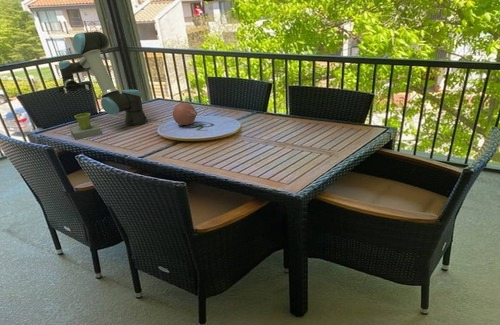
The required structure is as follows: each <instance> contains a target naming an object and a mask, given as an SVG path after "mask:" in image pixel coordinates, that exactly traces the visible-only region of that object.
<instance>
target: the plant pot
mask: <svg viewBox="0 0 500 325" xmlns="http://www.w3.org/2000/svg"><path fill="white" fill-rule="evenodd" d="M74 118H75V120H76V121H77V123H78V127H79V126H80V128H81V129H86V128H87V129H88V128H90V127H91V125H90V124H91V113H90V112H84V113H79V114H76V115H74Z"/></svg>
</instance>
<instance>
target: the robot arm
mask: <svg viewBox="0 0 500 325" xmlns="http://www.w3.org/2000/svg"><path fill="white" fill-rule="evenodd" d="M72 46H73V48H74V50H75V52H76V53H79V54H81V56H82V57H81V58H80V59H79V61H76V62H75V61H74V62H70V61H69V60H62V61H59V62H58V68H59V71H60V72H59V73H60V75H61V79H62V84H63V85H62V86H60V87H58V92H59V93H62V94H68V91H70V92H76V91H78V90H81V89H86V90H87V91H90V88H91V89H92V86H91V85H92V84H91V83H85V82H81V83H78V82H77V81H76V80H75V77H74V75H75V74H80V73H86V72H89V71H91V72H92V74H93V75H94V78H95V81H96V82H97V84H98V87H99V89H100V91H101V93H102V94H101V96H100V97H101V99H100V104H101V108H102V110H104V111H105V113H107V115H108V114H109V115H115V114H119V113H122V112H125V116H124V123H125V125H126V126H140V125H144V124H145V123H147V122H148V118H147V116H146V115H147V114H146V113H145V112H144V109H143V104H142V103H143V102H142V97H141V96H142V95H141V92H140V90H138V89H130V88H129V89H122V90H121V92H120V90H119V89H117V88H116V87H115V85H114V83H113V80H112V78H111V76H110V73H109V72H108V70H107V68H106V65H105V63H104V61H103V59H102V57H101V55H102V53H105V52H106V51H107V50H108V48H109V46H110V40H109V38H108V36H107V35H106V34H105V33H104V32H102V31H98V30H96V31H85V32H77V33H75V34H74V35H73V39H72Z"/></svg>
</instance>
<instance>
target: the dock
mask: <svg viewBox="0 0 500 325" xmlns="http://www.w3.org/2000/svg"><path fill="white" fill-rule="evenodd" d="M90 125H91V127H90V128H88V129H87V128H86V129H81V128H80V126H79V125H78V126H75V127H69V130H70V134H71V135H72V137H73V138H74V140H75V141H76V140H81V139H85V138H91V137H96V136H99V135H102V130H101V127H100V126H99V125H98V124H97V123H95V122H94V123H90Z"/></svg>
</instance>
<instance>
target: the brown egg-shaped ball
mask: <svg viewBox="0 0 500 325" xmlns="http://www.w3.org/2000/svg"><path fill="white" fill-rule="evenodd" d="M197 116H198V112H197V110H196V109H195V107H194V106H193V105H192V104H190V103H188V102H180V103H177V104H176V105H175V106H174V108H173V110H172V118H173V120H174V121H175V123H176V124H178V125H179V124H180V125H179V126H182V125H187V126H189V125H188V124H190V125H191V124H193V123H194V121H195V120H196V118H197Z"/></svg>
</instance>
